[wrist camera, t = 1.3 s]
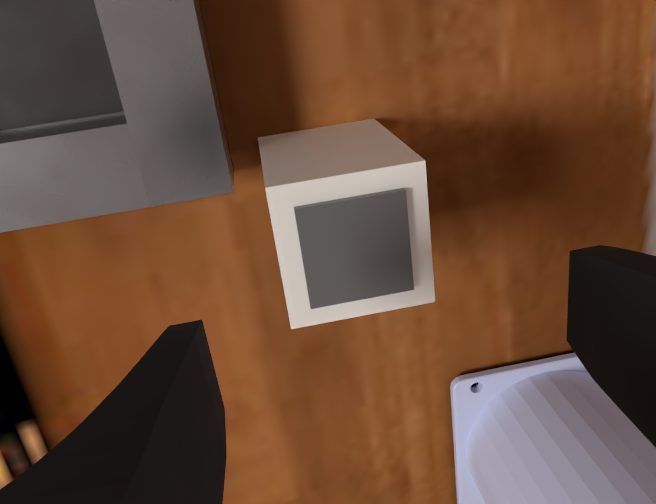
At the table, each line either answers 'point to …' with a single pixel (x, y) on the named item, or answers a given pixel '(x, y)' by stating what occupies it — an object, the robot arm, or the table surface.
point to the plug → (348, 221)
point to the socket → (106, 109)
